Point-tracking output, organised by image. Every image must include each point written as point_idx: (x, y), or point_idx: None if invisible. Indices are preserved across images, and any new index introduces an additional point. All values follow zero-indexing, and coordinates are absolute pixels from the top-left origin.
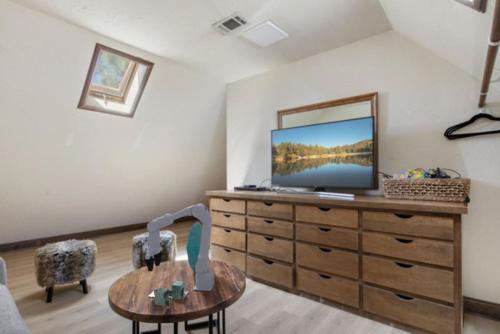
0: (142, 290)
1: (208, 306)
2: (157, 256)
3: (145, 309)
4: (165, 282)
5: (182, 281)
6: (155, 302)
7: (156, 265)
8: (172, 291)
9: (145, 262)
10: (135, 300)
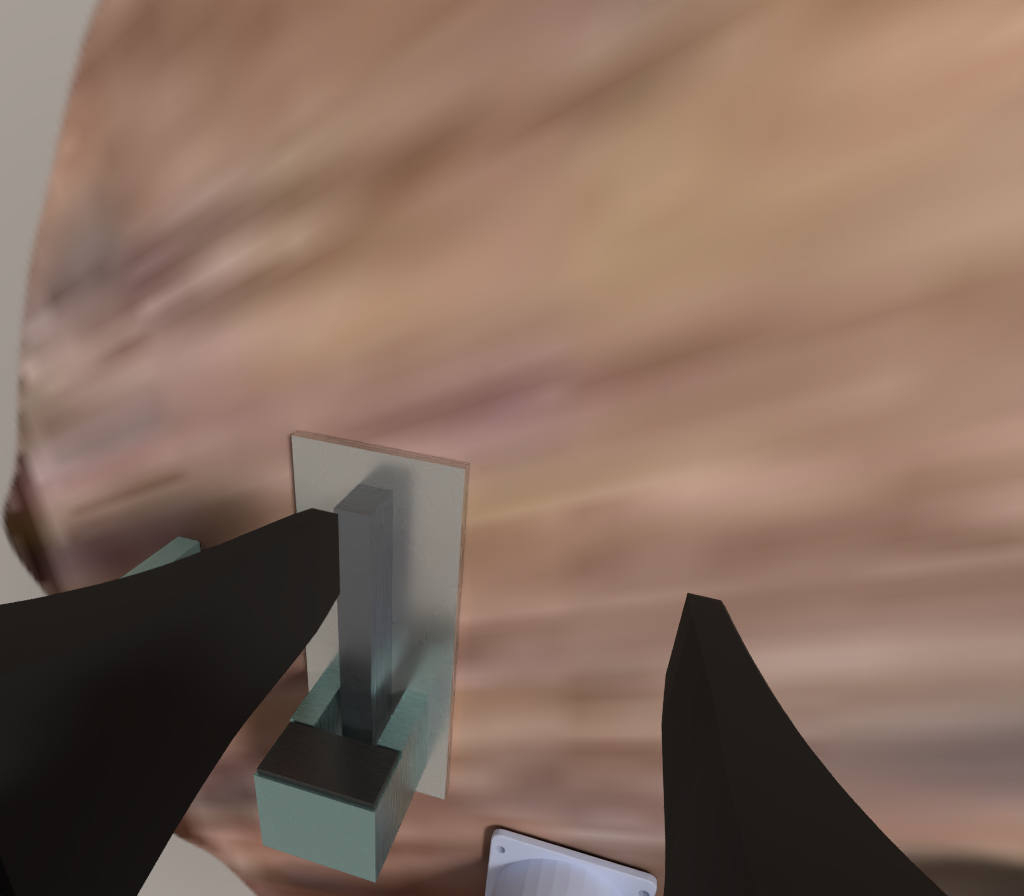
0: (469, 281)
1: (253, 881)
2: None
3: (88, 476)
4: (750, 544)
5: (368, 866)
6: (162, 555)
7: (679, 631)
8: (297, 715)
9: (30, 602)
10: (203, 303)
